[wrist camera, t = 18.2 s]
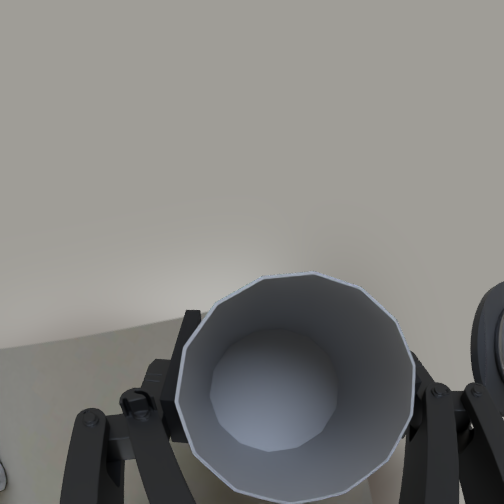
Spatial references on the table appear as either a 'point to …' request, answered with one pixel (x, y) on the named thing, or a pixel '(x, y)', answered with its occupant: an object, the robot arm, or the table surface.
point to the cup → (295, 387)
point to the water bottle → (2, 478)
